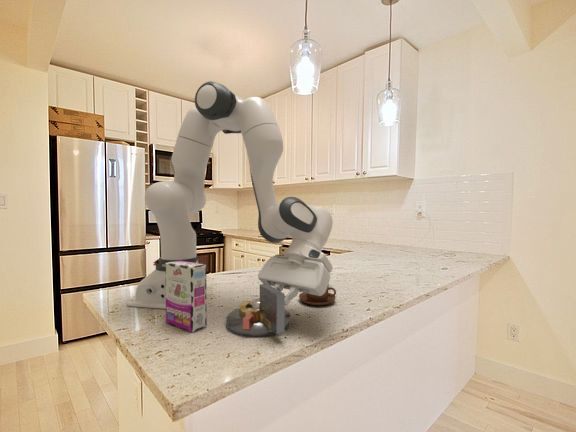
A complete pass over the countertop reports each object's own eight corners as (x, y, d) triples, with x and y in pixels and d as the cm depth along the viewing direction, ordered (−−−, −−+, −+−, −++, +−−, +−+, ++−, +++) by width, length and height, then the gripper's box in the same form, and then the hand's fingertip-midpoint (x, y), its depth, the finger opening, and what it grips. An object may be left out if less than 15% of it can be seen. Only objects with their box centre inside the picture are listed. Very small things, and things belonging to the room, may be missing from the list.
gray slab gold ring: (235, 311, 81) (235, 279, 81) (267, 306, 86) (267, 275, 86) (260, 337, 65) (260, 297, 65) (299, 329, 70) (299, 291, 70)
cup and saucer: (332, 296, 103) (332, 279, 103) (338, 308, 91) (338, 288, 91) (298, 296, 103) (298, 278, 103) (299, 308, 91) (299, 288, 91)
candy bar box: (208, 326, 77) (207, 264, 76) (192, 333, 73) (191, 267, 72) (180, 317, 83) (180, 259, 83) (164, 323, 79) (164, 262, 78)
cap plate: (219, 338, 70) (219, 313, 70) (232, 311, 88) (232, 291, 87) (291, 337, 71) (291, 312, 70) (289, 311, 88) (289, 291, 88)
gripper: (267, 247, 85) (243, 289, 78) (329, 254, 73) (307, 304, 65) (277, 260, 89) (255, 301, 82) (338, 268, 76) (318, 318, 69)
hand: (279, 303), depth 74 cm, fingers closed
